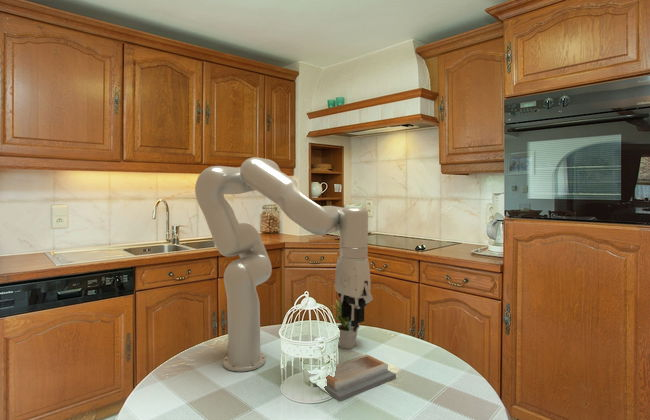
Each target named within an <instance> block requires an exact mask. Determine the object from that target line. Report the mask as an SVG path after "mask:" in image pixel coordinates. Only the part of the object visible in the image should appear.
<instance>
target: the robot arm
mask: <svg viewBox="0 0 650 420" xmlns="http://www.w3.org/2000/svg"><path fill="white" fill-rule="evenodd" d="M194 190H195V191H194V192H195V194H194V195H195V198H196V201H197V204H198V205H199V208H200V210H201V212H202V214H203V216H204V219H205V220H206V224H207V227H208V230H209V231H210V234H211V237H212V240H213V242H214V244H215V248H216V250H217V251H218V253H219V254H220V255H222V256H224V257H227V258H229V257H235V256H239V258H238V259H235V260H232V261H231V262H230V263H229V264H228V265H227V266H226V267H225V270H224V273H223V283H224V289H225V294H226V305H227V306H226V309H227V355H226V356H225V357H224V358H223V359H222V366H223V367H224V368H225V369H226V370H229V371H232V372H249V371H253V370H257V369H259V368H261V367H262V366H263V365H265V363H266V359H267V358H266V357H267V356H266V355H265V354H264V353H262V352H261V304H260V298H259V293H258V291H257V286H259V285H262V284H263V283H265V282H267V281H268V280H269V279H270V277H271V276H272V272H273V271H272V270H273V268H272V262H271V259H270V257H269V254H268V252H267V250H266V246H265V244H264V241H263V239H262V237H261V235H260V233H259V232H258V230H257V228H255V227H254V226H253V224H252V225H251V224H249V223H245V222H242V223H240V222H239V221H238V219H237V217H236V214H235V211H234V209H233V207H232V206H231V204H230V203H229V202H228V200H227V199H226V198H225V195H240V194H241V195H242V194H245V193H249V192H254V191H257V192H258V193H260V194H261V195H262V196H265V198H267V199H269V200H271V201H272V202H273V203H274V204H276V205H277V206H278V207H279V208H280V210H281V211H282V212H283V213H284V215H286V216H287V218H288V219H290V220H291V221H292V222H294V223H295V224H297V225H298V226H300V227H301V228H303V229H304V230H306V231H307V232H308V233H311V234H313V235H316V236H325V235H327V234H332V233H335V232H339V256H338V257H337V261H336V266H335V273H334V274H335V275H334V276H335V277H334V289H335V291H336V293H337V295H338V297H339V301H340V302H339V303H340V304H341V306H342V307H341V317H342V318H346V317H349V314H350V312H351V307H352V305H350V304H349V303H347V301H346V298H345V296H349V297H352V298H355V305H356V308H354V323H363V322H365V321H364V320H365V308H367V306H368V304H369V303H370V302H371V301H373V300H374V297H373V295H372V292H371V270H370V269H371V268H370V262H369V259H368V253H369V252H368V251H369V250H368V249H369V247H368V244H369V243H368V241H369V238H368V237H369V236H368V235H369V212H368V210H367V208H364V207H358V206H357V207H354V206H352V207H351V206H347V207H342V206H334V205H323V206H321V205H320V204H318V203H317V202H315V201H314V200H311V199H310V198H308V197H307V196H306V195H304V194H303V193H302V192H301V190H299V188H298V183H297V181H296V180H295V179H293V178H292V177H291V176H288V174H286V173H284V172H282V171H281V169H280V167H279V165H278V164H277V163H276V162H275V161H273V160H272V159H269V158H263V157H254V156H253V157H249V158H247V159H245V160H244V161H243V162H242V164H241V166H238V167H233V166H224V165H214V166H213V165H211V166H209V167H207V168H205V169H203V171H201V172H200V173H199V175H198V177H197V179H196V182H195V188H194ZM360 298H361V299H362V300H361V301H360V302H359V299H360Z"/></svg>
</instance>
